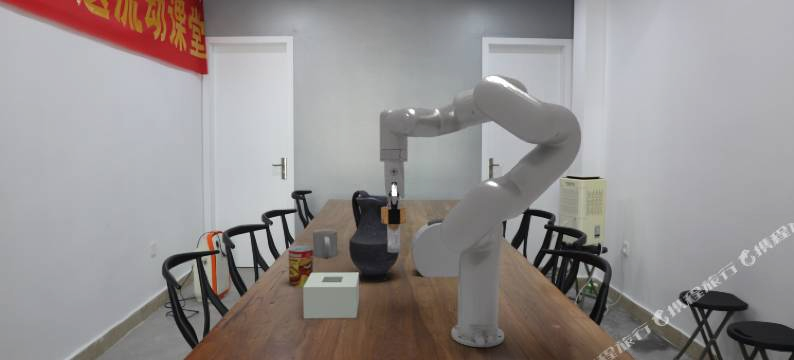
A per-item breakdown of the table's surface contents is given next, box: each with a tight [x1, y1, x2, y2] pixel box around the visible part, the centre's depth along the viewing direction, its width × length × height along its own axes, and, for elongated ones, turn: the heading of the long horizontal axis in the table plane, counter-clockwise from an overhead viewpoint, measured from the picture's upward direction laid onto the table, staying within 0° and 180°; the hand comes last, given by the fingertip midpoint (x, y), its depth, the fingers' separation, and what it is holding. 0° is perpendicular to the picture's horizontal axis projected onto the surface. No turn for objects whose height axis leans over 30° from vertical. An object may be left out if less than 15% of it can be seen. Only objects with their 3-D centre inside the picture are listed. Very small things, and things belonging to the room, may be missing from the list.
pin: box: [381, 205, 407, 253], centre depth 127 cm, size 7×7×12 cm
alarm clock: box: [410, 218, 460, 278], centre depth 167 cm, size 21×8×20 cm, turn 92°
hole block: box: [302, 271, 360, 319], centre depth 131 cm, size 14×14×8 cm
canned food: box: [288, 245, 314, 288], centre depth 155 cm, size 8×8×12 cm
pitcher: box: [348, 189, 400, 282], centre depth 163 cm, size 17×21×30 cm
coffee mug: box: [312, 228, 338, 259], centre depth 194 cm, size 13×10×10 cm
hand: (393, 221), depth 127 cm, fingers closed on pin, 6 cm apart
